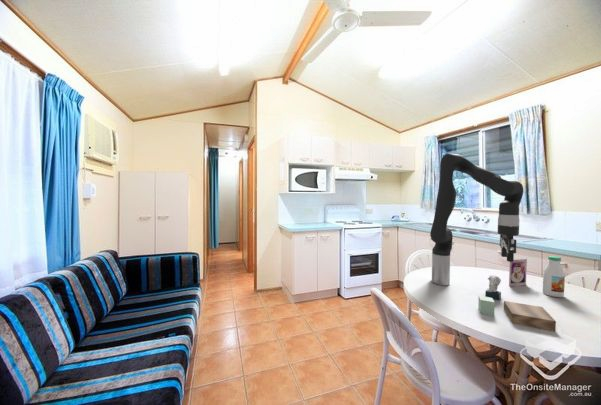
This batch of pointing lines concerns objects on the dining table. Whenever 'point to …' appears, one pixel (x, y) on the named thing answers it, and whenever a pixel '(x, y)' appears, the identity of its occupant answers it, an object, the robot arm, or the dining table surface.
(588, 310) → the dining table surface
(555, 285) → the milk bottle
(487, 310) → the block
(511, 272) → the greeting card
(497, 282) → the watch
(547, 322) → the plinth
